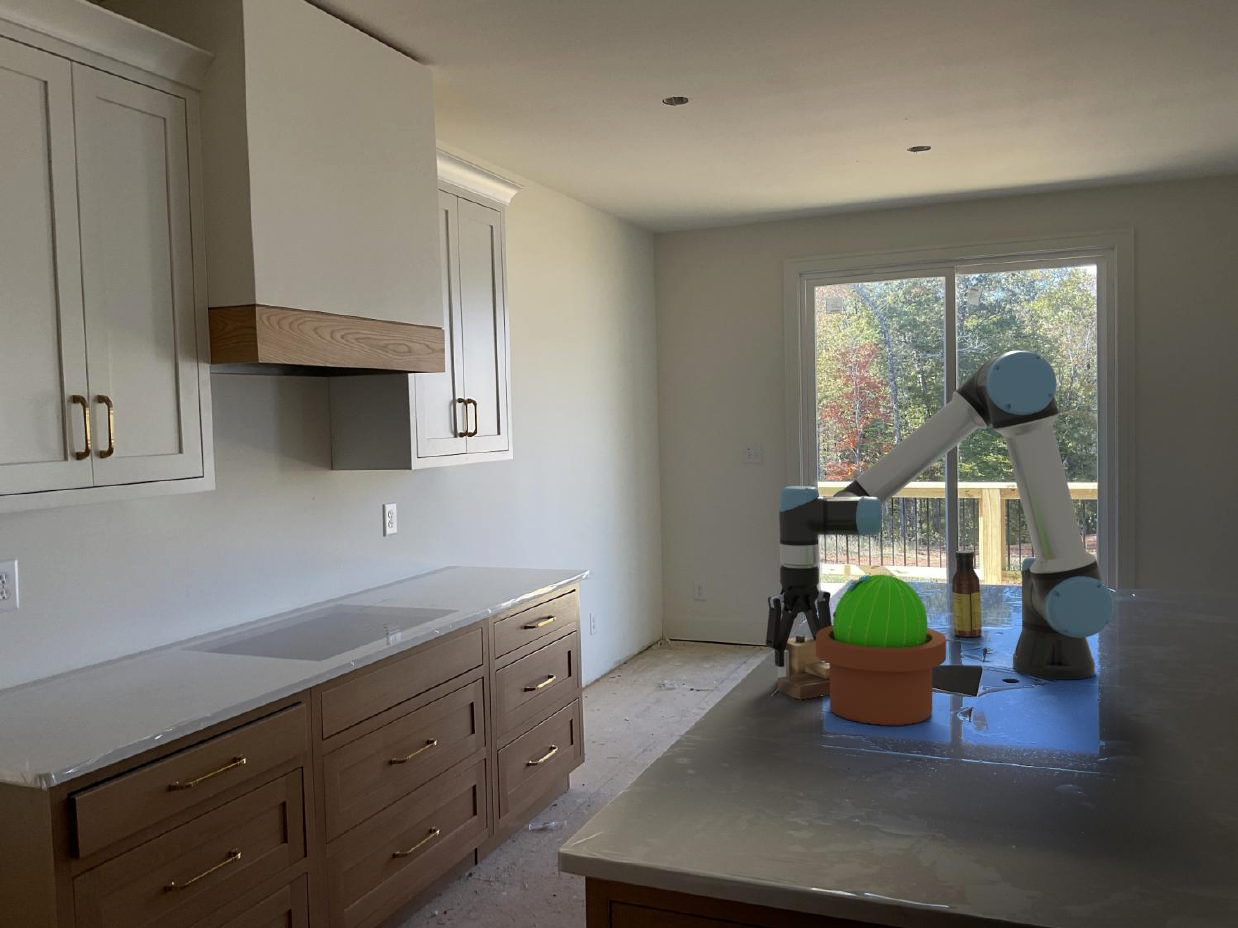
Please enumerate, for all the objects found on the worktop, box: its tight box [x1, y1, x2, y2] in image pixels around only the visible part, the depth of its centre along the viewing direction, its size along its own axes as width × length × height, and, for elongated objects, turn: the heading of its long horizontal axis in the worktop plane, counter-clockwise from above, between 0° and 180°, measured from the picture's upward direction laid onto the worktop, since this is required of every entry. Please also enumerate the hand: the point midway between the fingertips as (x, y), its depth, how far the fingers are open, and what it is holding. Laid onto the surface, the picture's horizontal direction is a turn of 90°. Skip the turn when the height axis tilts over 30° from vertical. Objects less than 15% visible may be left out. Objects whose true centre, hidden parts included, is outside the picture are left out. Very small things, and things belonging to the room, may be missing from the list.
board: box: [777, 673, 830, 701], centre depth 187 cm, size 7×22×3 cm, turn 117°
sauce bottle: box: [951, 549, 983, 638], centre depth 227 cm, size 7×6×20 cm
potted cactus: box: [816, 571, 947, 726], centre depth 171 cm, size 22×22×25 cm
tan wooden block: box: [785, 634, 830, 679], centre depth 189 cm, size 12×6×9 cm, turn 27°
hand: (800, 679), depth 192 cm, fingers open, 7 cm apart
